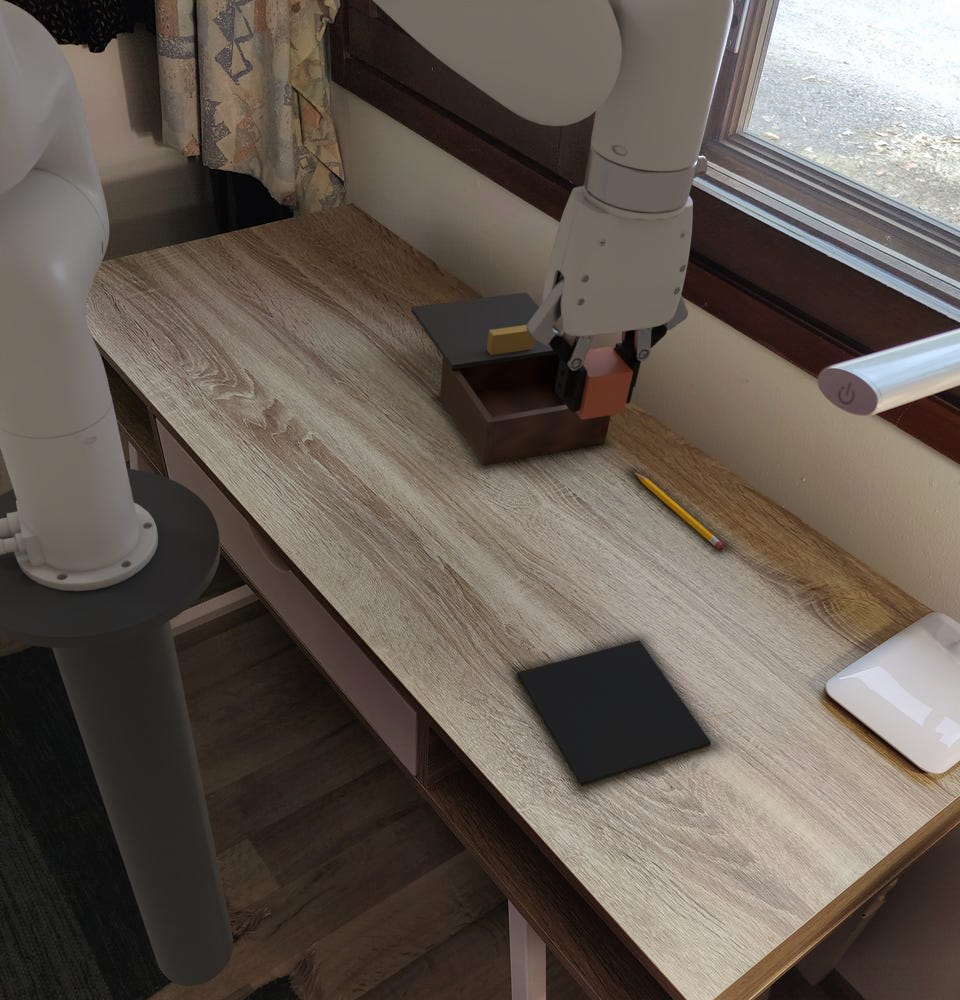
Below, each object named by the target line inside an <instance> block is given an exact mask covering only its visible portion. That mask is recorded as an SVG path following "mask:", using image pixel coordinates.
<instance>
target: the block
mask: <svg viewBox="0 0 960 1000" xmlns="http://www.w3.org/2000/svg"><path fill="white" fill-rule="evenodd" d="M583 366H584V367H585V368H586V369H587V375H586V380H585V386H584V391H583V396H582V401H581V406H580V409H579V411H577V412H576V413H577V414H578V416H579V417H580V418H581V419H582V420H583V419H589V418H595V417H601V416H608V415H611V416H613V415H614V416H615V415H620V414H624V412H625V409H626V405H627V404H626V400H627V396H628V392H629V388H630V383H631V379H632V375H633V371H632V370H631V368H630V367H629V366H628V365H627V364H626V363H625V362H624V361H623V359H622V358H621V357H620V356H619V355H618V354H617V352H616V351H615V350H614V347H612V346H611V345H610V346H602V347H595V348H594V347H593V348H589V349H588V352H587V354H586V357H585V360H584V362H583Z"/></svg>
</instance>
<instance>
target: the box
mask: <svg viewBox="0 0 960 1000" xmlns="http://www.w3.org/2000/svg"><path fill="white" fill-rule="evenodd" d="M441 360H442V362H441V374H440V387H439V389H440V391H439V394H440V395H439V402H440V403H441V404H442V406H443V407H444V409H445V410H446V412H447V413H448V415H449V416H450V418H451V419H452V420H453V423H454V424H455V425H456V427H457V428H458V430H459V432H460V433H461V434H462V436H463V437H464V439H465V441H466V442H467V443H468V445H469V446H470V448H471V450H472V451H473V452H474V454H475V455H476V457H477V458H478V460H479V462H480V463H481V464H482V466H488V465H494V464H500V463H504V462H509V461H515V460H520V459H527V458H531V457H536V456H542V455H547V454H554V453H558V452H563V451H570V450H574V449H580V448H585V447H592V446H595V445H602V444H605V443H606V439H607V434H608V429H609V427H610V426H609V425H610V421H611V416H612V415H608V416H601V417H595V418H589V419H583V420H582V419H581V418H580V417H579V416H578V414H577V413H576V412H571V411H570V410H569V408H568V407H567V406H566V404H565V403H564V402H563V401H562V399H561V398H560V397H559V396H558V395H557V393H556V388H555V386H556V379H557V374H558V368H559V362H560V357H559V356H558V355H557V354H554V355H547V356H540V357H534V358H527V359H520V360H514V361H507V362H500V363H494V364H487V365H480V366H474V367H467V368H460V369H454V370H452V369H451V368H450V366H449V365H448V363H447V362H446V360H445V359H444V358H443V357H442V359H441Z"/></svg>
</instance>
